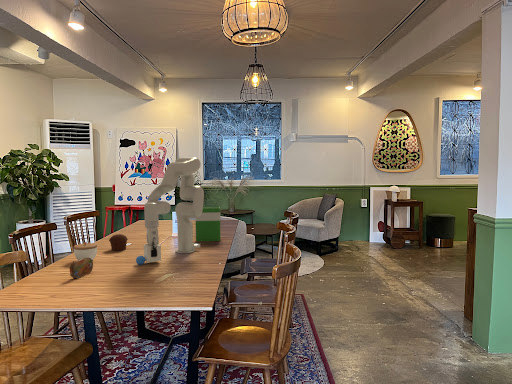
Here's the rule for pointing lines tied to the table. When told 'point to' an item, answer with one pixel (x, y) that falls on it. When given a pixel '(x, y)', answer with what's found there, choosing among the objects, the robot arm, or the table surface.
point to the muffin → (118, 242)
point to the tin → (81, 267)
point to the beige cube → (148, 253)
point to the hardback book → (208, 225)
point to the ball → (140, 260)
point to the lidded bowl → (85, 250)
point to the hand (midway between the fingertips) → (152, 255)
